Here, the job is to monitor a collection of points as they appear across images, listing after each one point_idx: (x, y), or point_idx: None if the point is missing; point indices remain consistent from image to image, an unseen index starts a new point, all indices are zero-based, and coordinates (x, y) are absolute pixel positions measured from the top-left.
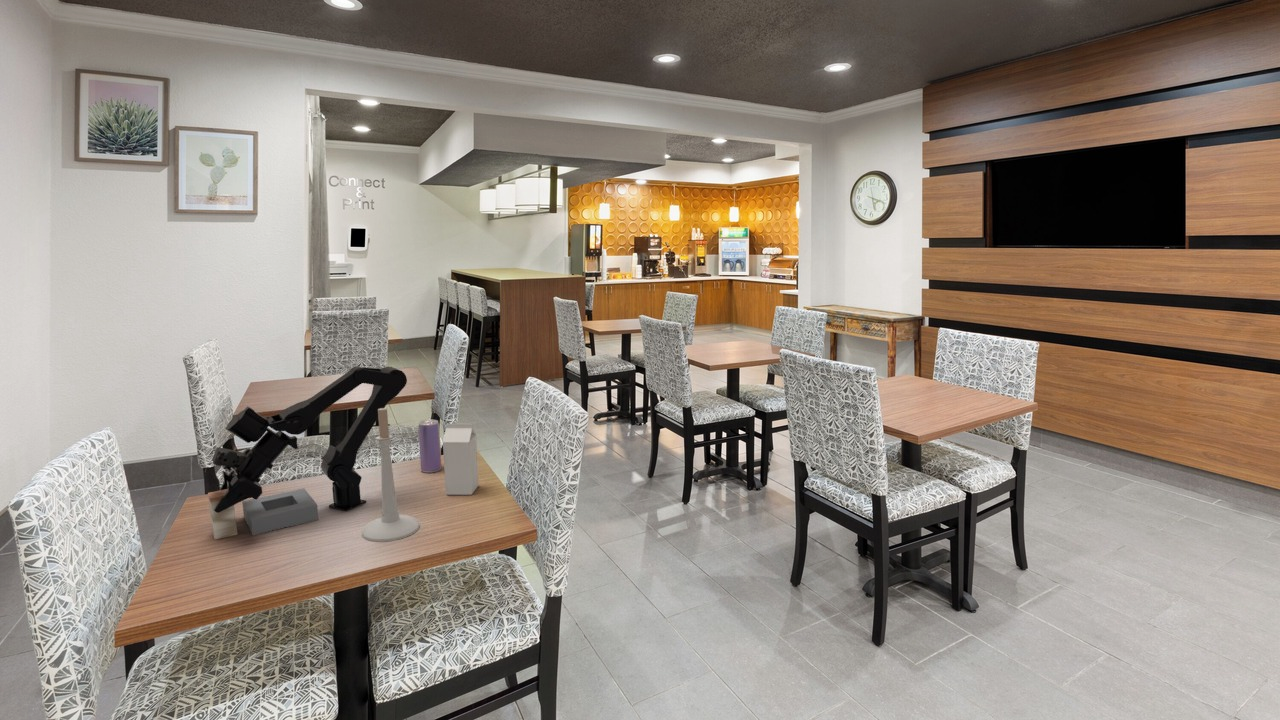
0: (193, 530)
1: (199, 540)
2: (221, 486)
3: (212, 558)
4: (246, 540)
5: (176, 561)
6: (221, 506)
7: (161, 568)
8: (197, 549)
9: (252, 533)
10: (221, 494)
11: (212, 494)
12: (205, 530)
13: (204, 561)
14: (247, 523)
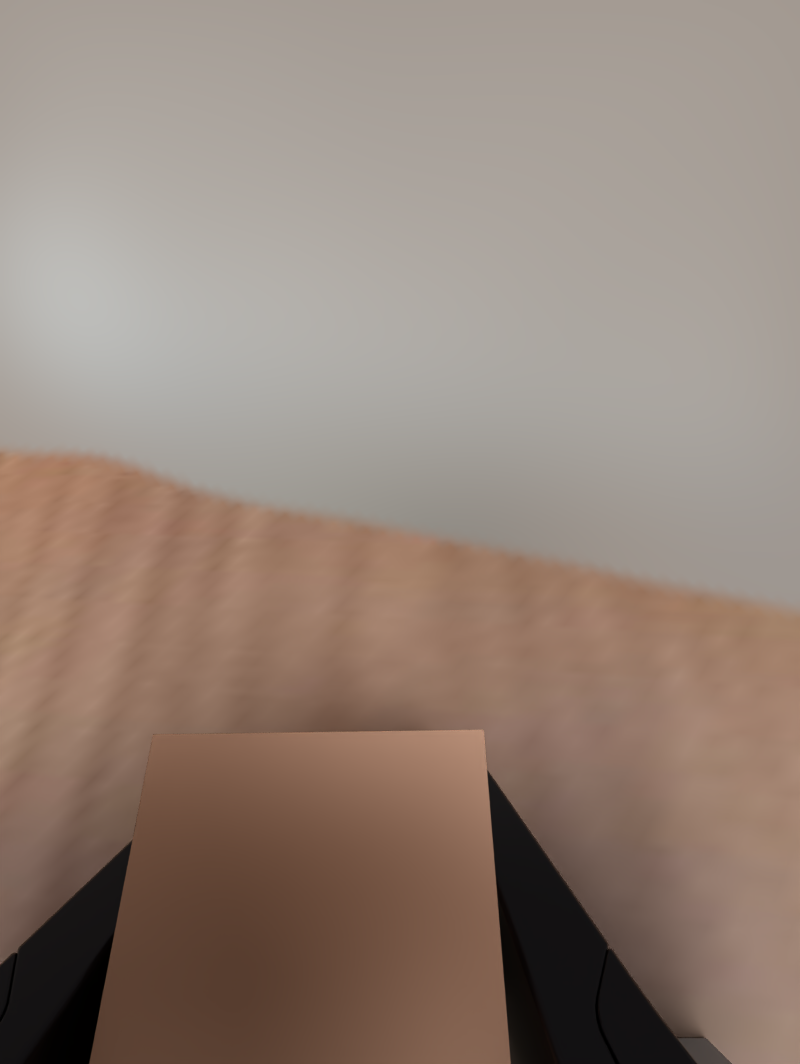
0: (573, 633)
1: (367, 653)
2: (645, 1047)
3: (10, 698)
4: None
5: (143, 535)
6: None
7: (116, 479)
8: (225, 634)
9: None
10: (219, 957)
11: (341, 791)
12: (530, 700)
13: (10, 655)
14: None
